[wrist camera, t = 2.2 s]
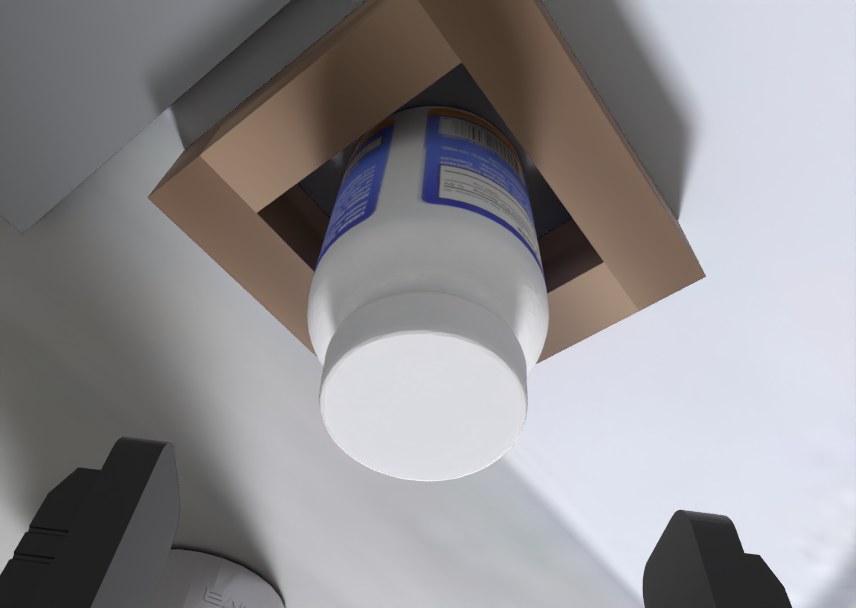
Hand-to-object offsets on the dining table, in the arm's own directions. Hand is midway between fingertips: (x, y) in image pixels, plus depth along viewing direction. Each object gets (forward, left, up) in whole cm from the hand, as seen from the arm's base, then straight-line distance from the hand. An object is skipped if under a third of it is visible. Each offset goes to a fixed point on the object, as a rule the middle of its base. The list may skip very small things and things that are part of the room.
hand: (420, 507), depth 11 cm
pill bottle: (0, 0, -12) cm, 12 cm away
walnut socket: (0, 0, -12) cm, 12 cm away
